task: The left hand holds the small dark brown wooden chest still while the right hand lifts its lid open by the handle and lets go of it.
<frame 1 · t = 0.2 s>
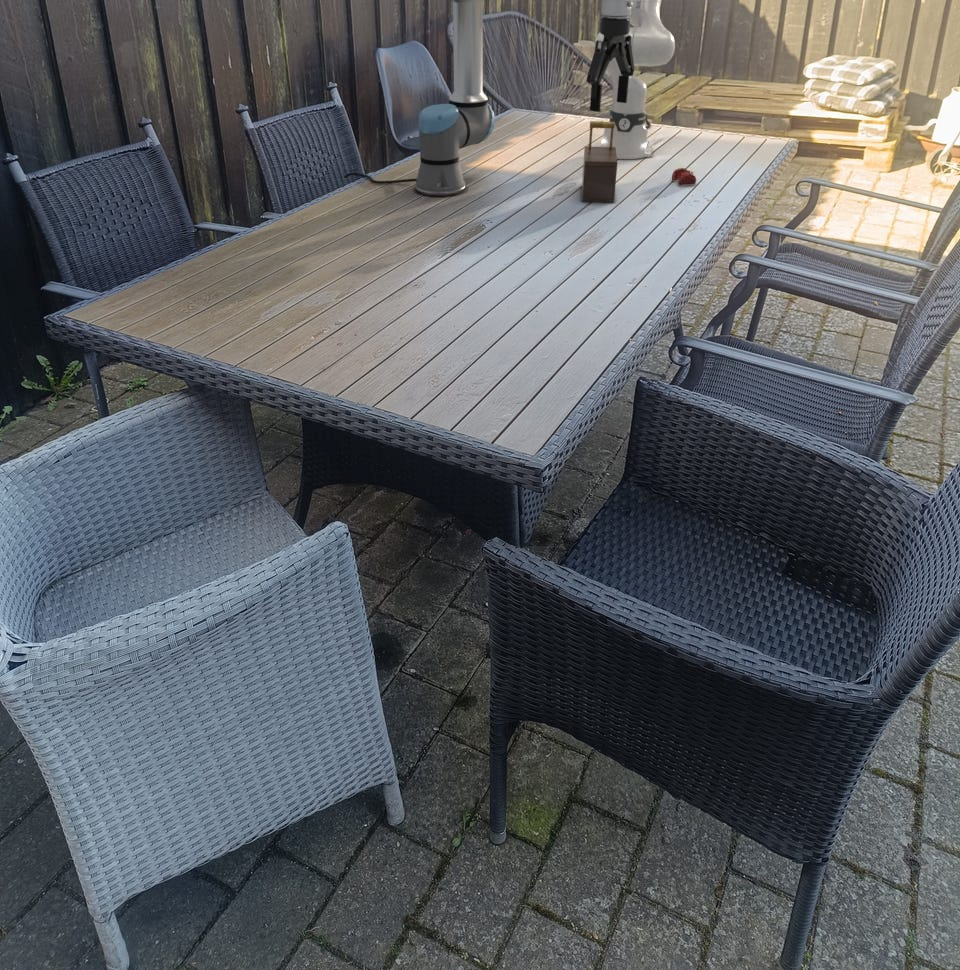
left hand: (608, 106, 226), 28 cm above the table, tool pointing down, fingers open, 13 cm apart
right hand: (622, 7, 240), 48 cm above the table, tool pointing down, fingers open, 8 cm apart
chest: (597, 194, 255), on the table
lid: (601, 142, 247), point 15 cm above the table, hinge at 0.0°
dark red rounded lump: (683, 182, 264), on the table
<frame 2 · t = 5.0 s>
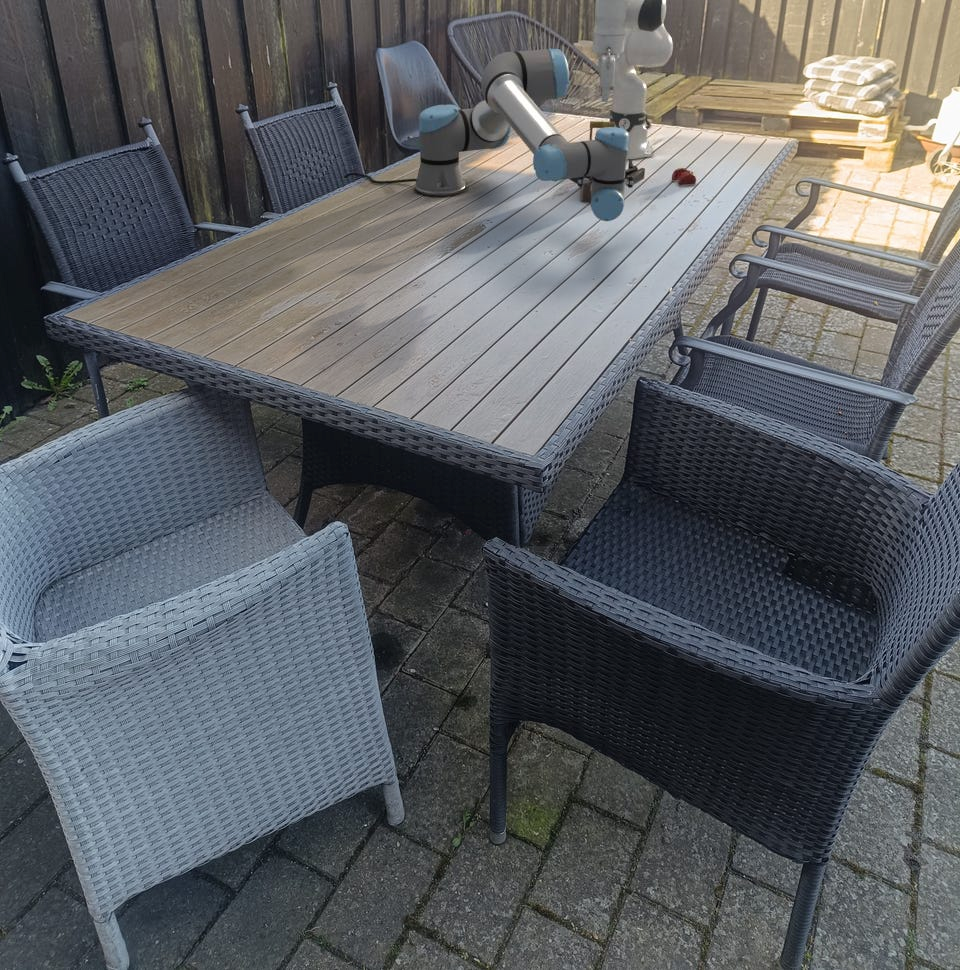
left hand: (604, 164, 223), 16 cm above the table, tool horizontal, fingers open, 13 cm apart
right hand: (604, 98, 245), 26 cm above the table, tool pointing down, fingers open, 8 cm apart
nothing on the table moved.
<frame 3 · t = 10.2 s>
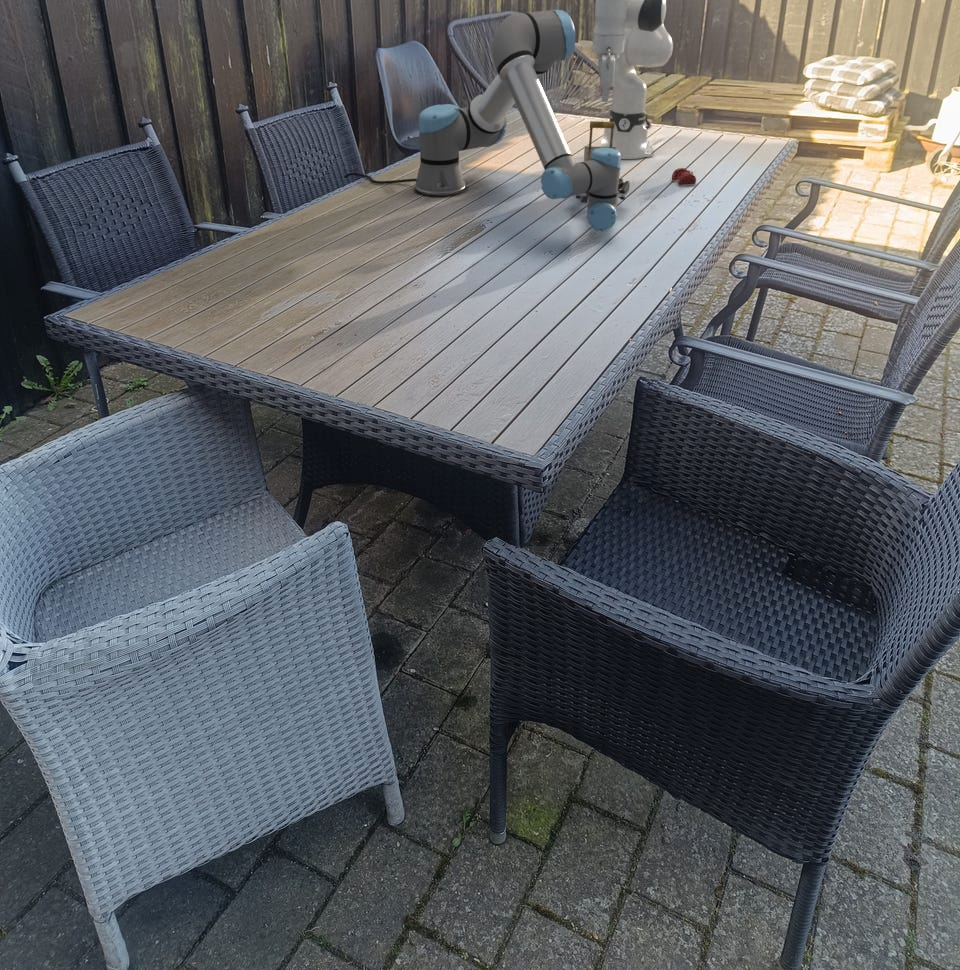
left hand: (599, 177, 247), 6 cm above the table, tool horizontal, fingers closed on chest, 9 cm apart
right hand: (604, 98, 245), 26 cm above the table, tool pointing down, fingers open, 8 cm apart
chest: (597, 194, 255), on the table, touching left hand
everything else where it was.
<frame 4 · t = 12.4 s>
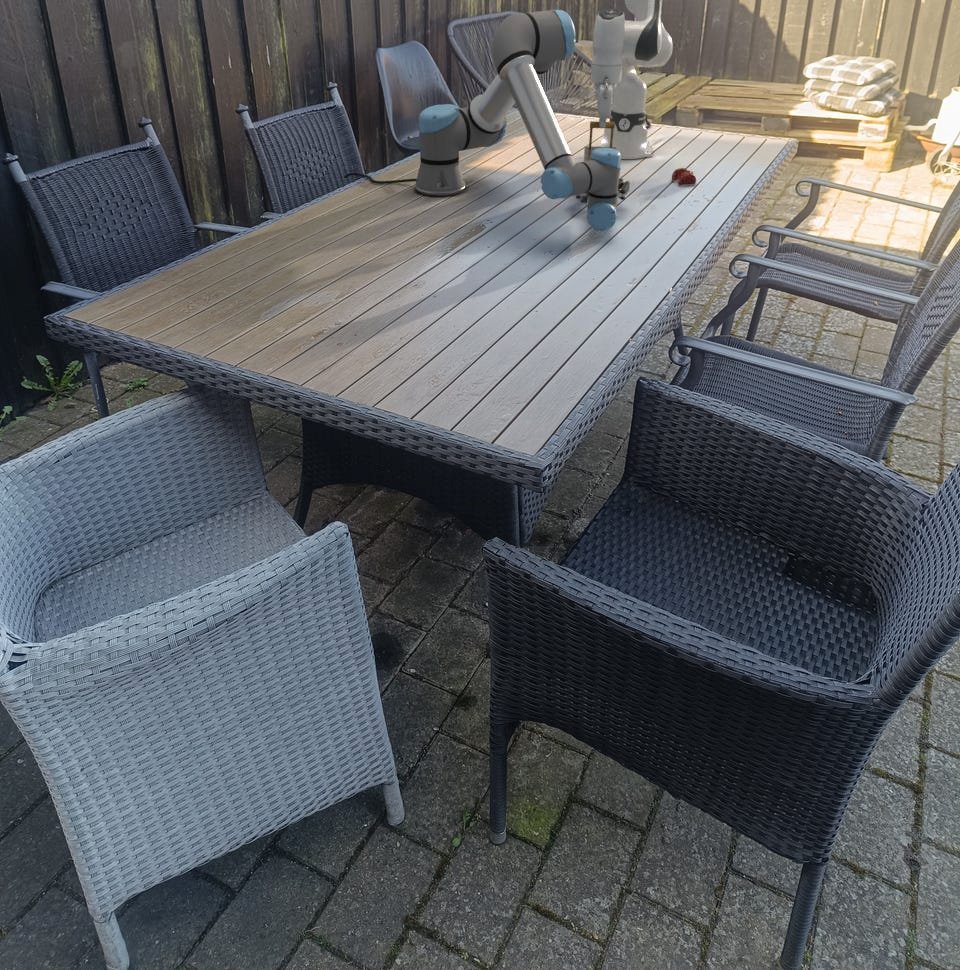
left hand: (599, 177, 247), 6 cm above the table, tool horizontal, fingers closed on chest, 9 cm apart
right hand: (602, 125, 250), 18 cm above the table, tool pointing down, fingers closed on lid, 2 cm apart
chest: (597, 194, 255), on the table, touching left hand
lid: (601, 142, 247), point 15 cm above the table, hinge at -0.2°, touching right hand
everything else where it was.
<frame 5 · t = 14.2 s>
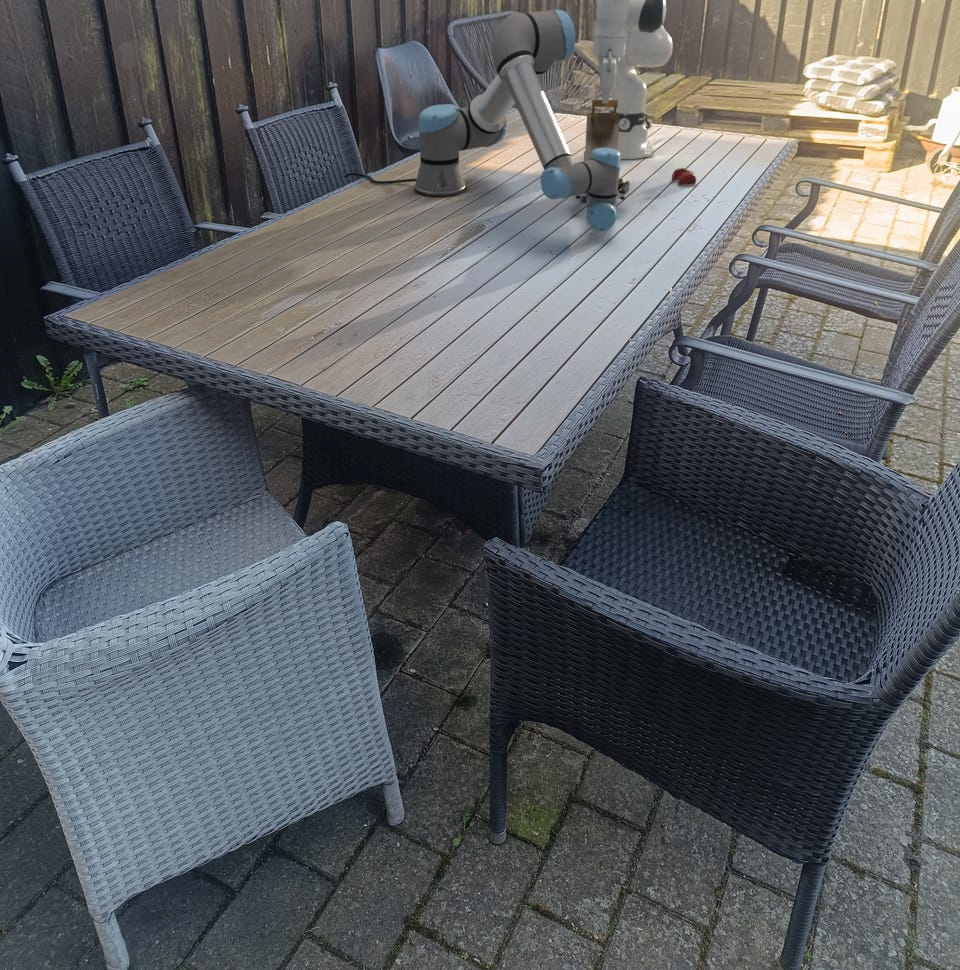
left hand: (599, 177, 247), 6 cm above the table, tool horizontal, fingers closed on chest, 9 cm apart
right hand: (604, 101, 238), 26 cm above the table, tool pointing down, fingers closed, pressing on lid
chest: (597, 193, 255), on the table, touching left hand
lid: (603, 130, 240), point 19 cm above the table, hinge at 38.6°, touching right hand
everything else where it was.
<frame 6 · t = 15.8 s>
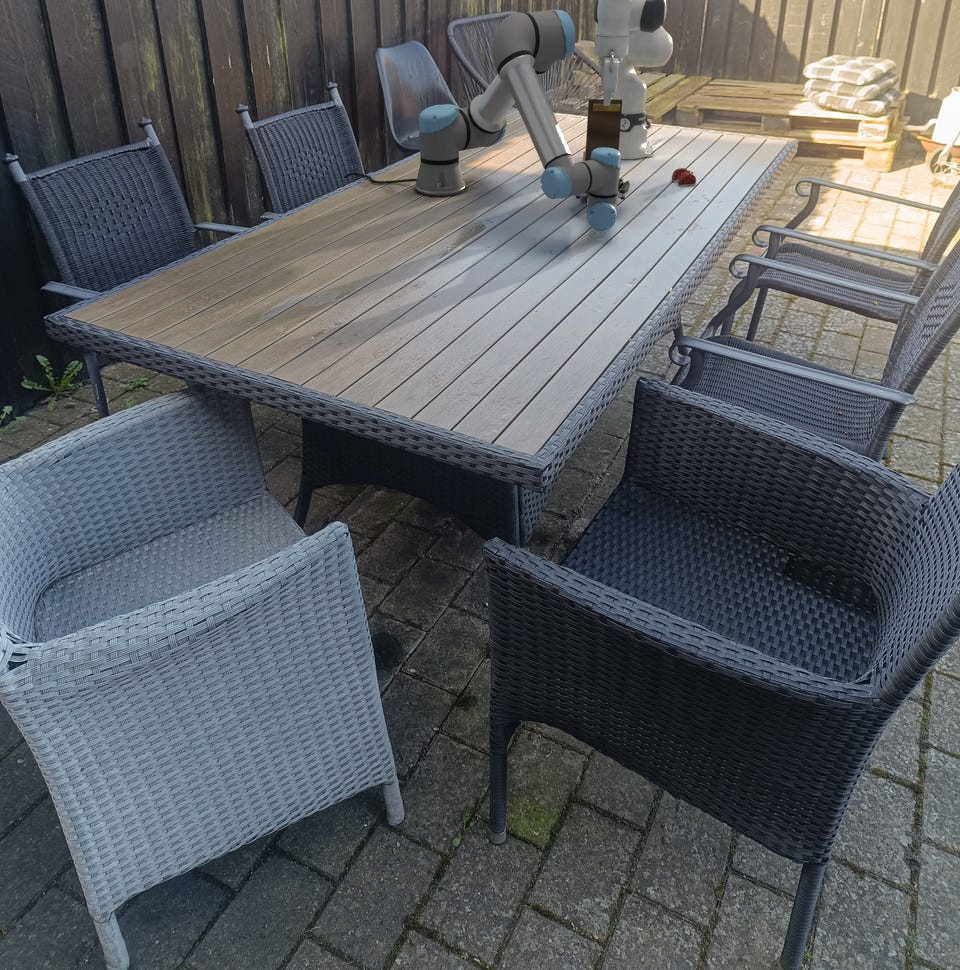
left hand: (599, 177, 247), 6 cm above the table, tool horizontal, fingers closed on chest, 9 cm apart
right hand: (606, 104, 229), 28 cm above the table, tool pointing down, fingers closed
chest: (597, 193, 255), on the table, touching left hand
lid: (604, 132, 235), point 20 cm above the table, hinge at 76.1°, touching right hand
everything else where it was.
when the left hand's fingers open (6 cm above the table, at t = 19.9 s): chest stays where it is, on the table.
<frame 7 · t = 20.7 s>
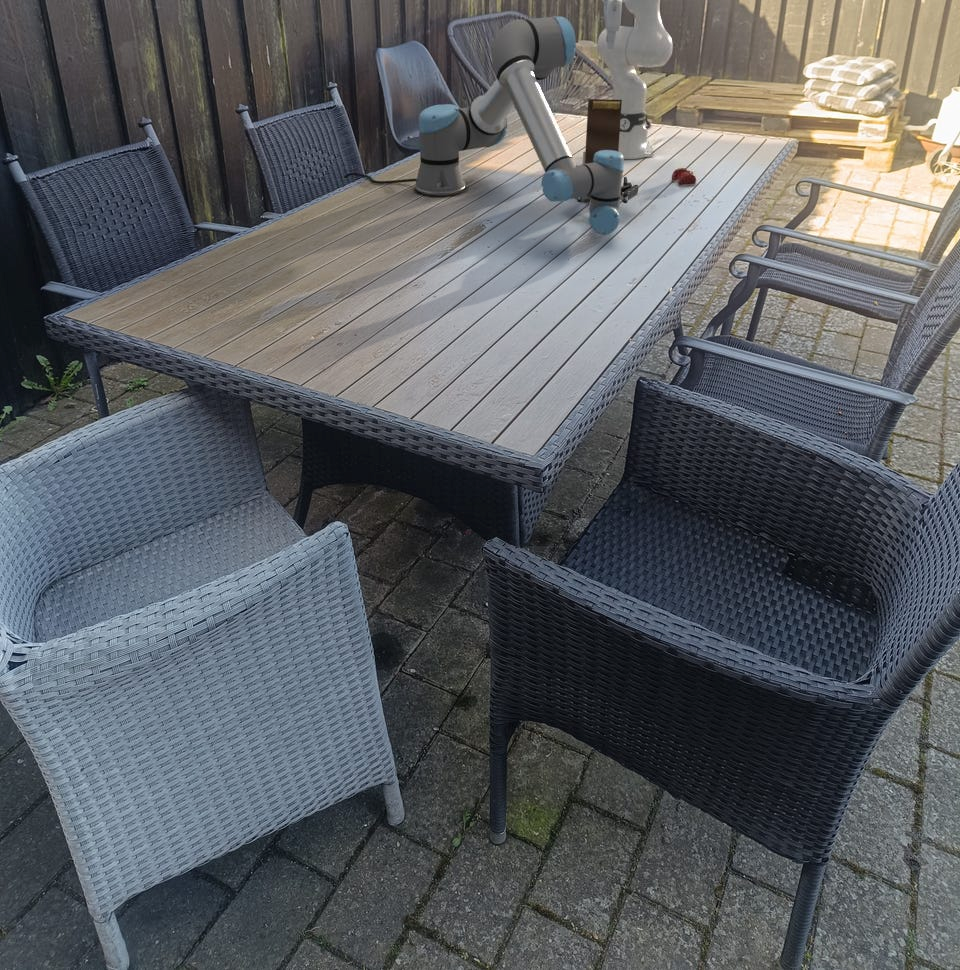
left hand: (601, 181, 243), 7 cm above the table, tool horizontal, fingers open, 13 cm apart
right hand: (609, 45, 228), 41 cm above the table, tool pointing down, fingers open, 8 cm apart
chest: (597, 193, 255), on the table
lid: (603, 130, 236), point 20 cm above the table, hinge at 71.4°
everything else where it was.
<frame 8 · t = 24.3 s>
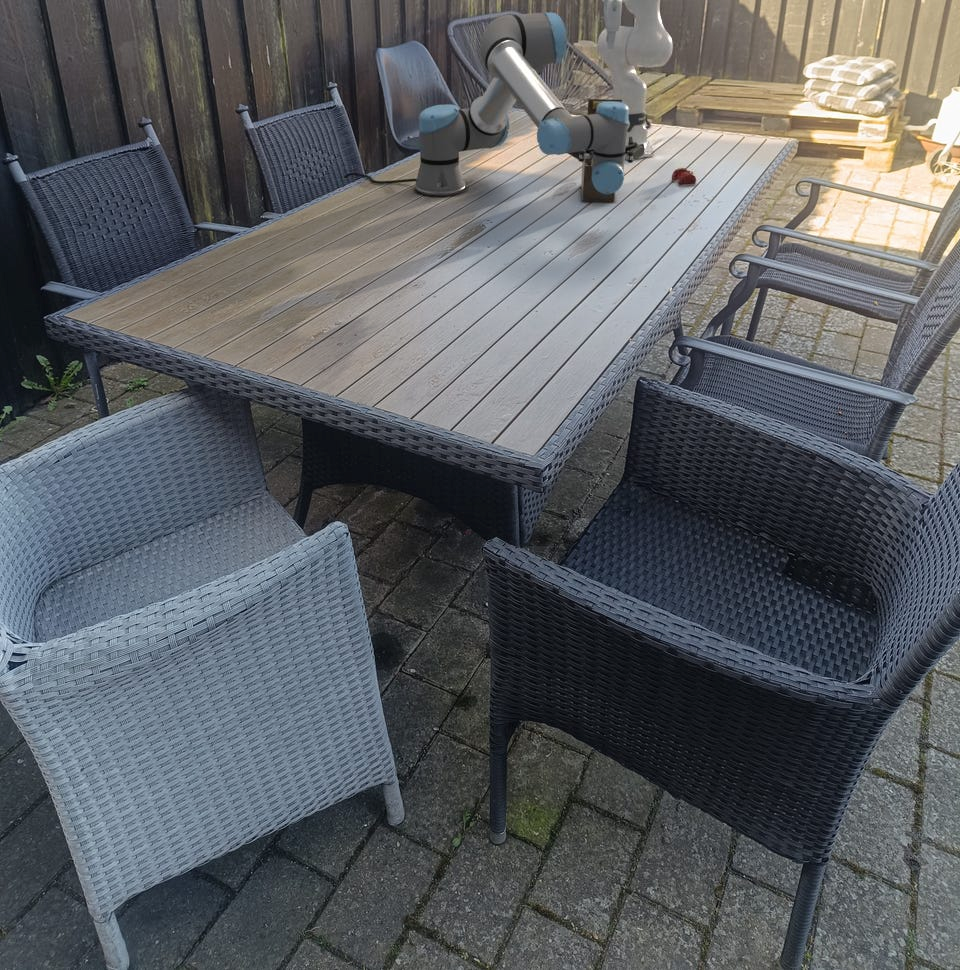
left hand: (604, 141, 227), 20 cm above the table, tool horizontal, fingers open, 13 cm apart
right hand: (609, 45, 228), 41 cm above the table, tool pointing down, fingers open, 8 cm apart
nothing on the table moved.
at the end: lid at +71° (first picture: +0°); the left hand is holding nothing; the right hand is holding nothing; chest tilted 0°; chest never tilted more than 1° during the clip; chest moved 0.2 cm from its start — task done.
